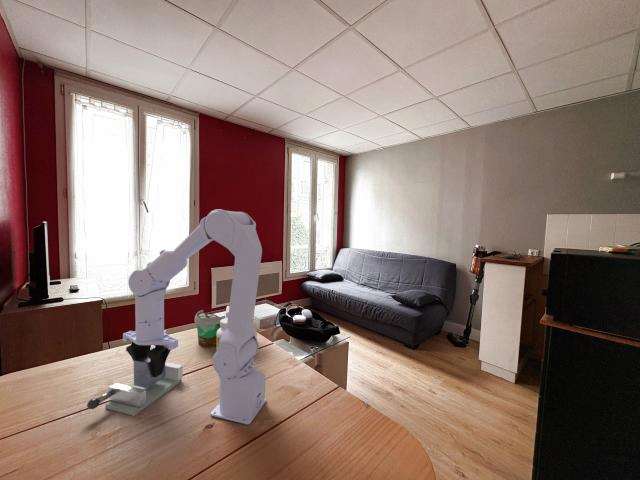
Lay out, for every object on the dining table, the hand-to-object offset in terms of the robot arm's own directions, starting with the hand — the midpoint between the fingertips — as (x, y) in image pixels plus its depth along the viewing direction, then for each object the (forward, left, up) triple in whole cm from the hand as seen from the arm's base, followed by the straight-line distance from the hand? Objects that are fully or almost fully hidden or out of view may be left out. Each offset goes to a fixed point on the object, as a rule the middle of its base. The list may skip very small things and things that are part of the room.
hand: (150, 373), depth 63 cm
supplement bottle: (-10, -17, -5) cm, 20 cm away
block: (0, 0, -2) cm, 2 cm away
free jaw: (0, +8, -3) cm, 9 cm away
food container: (+4, -25, -5) cm, 26 cm away
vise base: (0, +1, -4) cm, 5 cm away
